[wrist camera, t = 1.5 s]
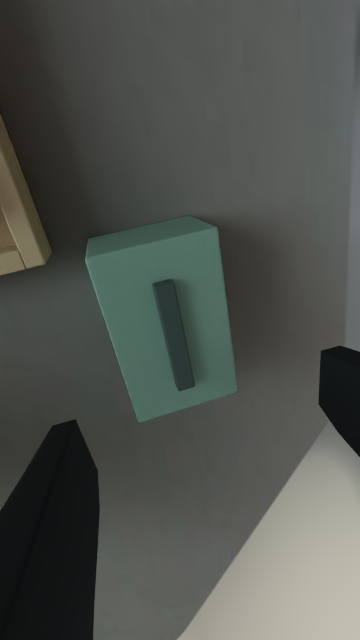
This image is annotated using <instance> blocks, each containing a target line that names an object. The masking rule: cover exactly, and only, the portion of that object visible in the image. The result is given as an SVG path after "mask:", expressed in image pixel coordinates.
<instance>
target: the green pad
mask: <svg viewBox="0 0 360 640" xmlns="http://www.w3.org/2000/svg"><path fill="white" fill-rule="evenodd" d="M85 262H86V265H87V268H88V271H89V274H90V277H91V280H92V283H93V286H94V289H95V292H96V295H97V298H98V301H99V304H100V307H101V310H102V313H103V316H104V319H105V322H106V326H107V329H108V332H109V335H110V338H111V341H112V344H113V347H114V350H115V353H116V356H117V359H118V362H119V365H120V368H121V371H122V374H123V377H124V380H125V383H126V386H127V389H128V392H129V395H130V398H131V401H132V405H133V408H134V411H135V414H136V417H137V420H138V422H139V423H141V422H144V421H147V420H150V419H154V418H157V417H160V416H163V415H166V414H170V413H173V412H176V411H179V410H182V409H186V408H189V407H192V406H195V405H198V404H201V403H205V402H208V401H211V400H214V399H217V398H221V397H224V396H227V395H230V394H233V393H237V392H238V387H237V379H236V371H235V363H234V355H233V347H232V339H231V331H230V323H229V315H228V307H227V299H226V291H225V283H224V275H223V267H222V259H221V251H220V243H219V235H218V228H217V227H215V226H213V225H211V224H209V223H206V222H204V221H202V220H199V219H197V218H195V217H193V216H190V215H188V216H184V217H179V218H175V219H171V220H166V221H162V222H158V223H153V224H149V225H145V226H140V227H136V228H132V229H127V230H123V231H119V232H114V233H110V234H106V235H101V236H97V237H93V238H89V239H88V244H87V251H86V257H85Z"/></svg>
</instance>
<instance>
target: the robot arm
mask: <svg viewBox="0 0 360 640" xmlns="http://www.w3.org/2000/svg"><path fill="white" fill-rule="evenodd" d="M319 405H320V407H321V408H322V410H323V411H324V413H325V414H326V416H327V417H328V419H329V420H330V422H331V423H332V424H333V426H334V427H335V429H336V430H337V431H338V433H339V434H340V435H341V436H342V437H343V439H344V440H345V441H346V442H347V443H348V444H349V445H350V447H351V448H352V449H353V450H354V451H355V452H356V453H357V454H358V456H359V457H360V352H358V351H355V350H352V349H349V348H346V347H342V346H337V347H333V348H330V349H326V350H323V351H321V360H320V383H319ZM99 510H100V507H99V487H98V471H97V468H96V466H95V463H94V461H93V459H92V456H91V454H90V452H89V449H88V447H87V445H86V442H85V440H84V438H83V435H82V433H81V431H80V428H79V426H78V424H77V421H76V419H75V420H71V421H68V422H64V423H60V424H57V425H53V426H52V427H51V429H50V431H49V432H48V434H47V435H46V437H45V439H44V440H43V442H42V444H41V445H40V447H39V449H38V450H37V452H36V454H35V456H34V457H33V459H32V461H31V462H30V464H29V466H28V467H27V469H26V471H25V472H24V474H23V476H22V477H21V479H20V480H19V482H18V484H17V485H16V487H15V488H14V490H13V492H12V493H11V495H10V496H9V498H8V500H7V501H6V503H5V504H4V506H3V507H2V509H1V511H0V640H93V621H94V599H95V582H96V565H97V548H98V530H99Z"/></svg>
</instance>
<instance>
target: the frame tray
mask: <svg viewBox="0 0 360 640" xmlns="http://www.w3.org/2000/svg"><path fill="white" fill-rule="evenodd" d="M51 254H52V250H51V248H50V245H49V242H48V240H47V237H46V234H45V232H44V229H43V226H42V224H41V221H40V218H39V216H38V213H37V210H36V207H35V205H34V202H33V199H32V197H31V194H30V191H29V189H28V186H27V183H26V181H25V178H24V175H23V173H22V170H21V167H20V165H19V162H18V159H17V157H16V154H15V151H14V149H13V146H12V143H11V141H10V138H9V135H8V133H7V130H6V127H5V125H4V122H3V119H2V116H1V114H0V275H4V274H8V273H12V272H17V271H21V270H25V269H26V268H33V267H37V266H41V265H45V264H46V262H47V261H48V259H49V257H50V256H51Z"/></svg>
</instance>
